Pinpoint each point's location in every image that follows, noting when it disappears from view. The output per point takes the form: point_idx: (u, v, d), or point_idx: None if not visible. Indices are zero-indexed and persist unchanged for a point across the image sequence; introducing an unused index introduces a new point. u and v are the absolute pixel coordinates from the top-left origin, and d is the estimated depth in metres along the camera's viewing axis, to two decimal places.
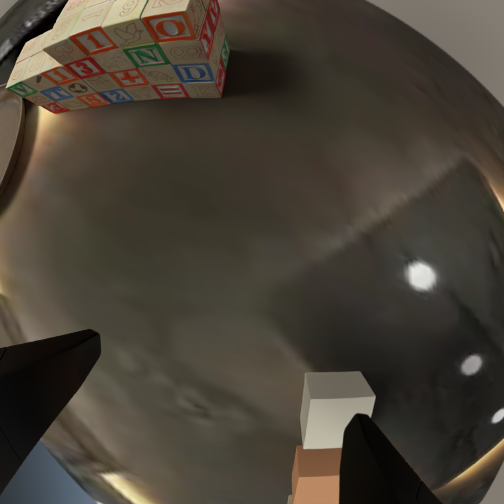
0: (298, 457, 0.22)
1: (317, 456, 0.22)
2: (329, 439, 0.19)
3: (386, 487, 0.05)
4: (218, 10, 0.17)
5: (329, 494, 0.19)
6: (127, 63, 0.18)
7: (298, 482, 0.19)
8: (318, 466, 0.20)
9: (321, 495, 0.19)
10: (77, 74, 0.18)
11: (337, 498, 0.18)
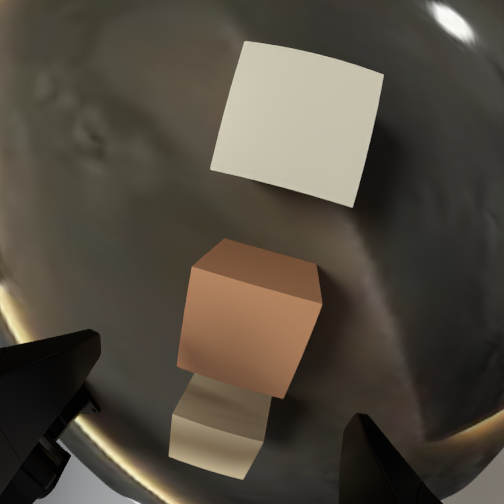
0: (215, 248, 0.14)
1: (253, 257, 0.13)
2: (273, 154, 0.09)
3: (386, 487, 0.05)
4: None
5: (255, 353, 0.11)
6: None
7: (190, 286, 0.11)
8: (246, 268, 0.12)
9: (237, 350, 0.11)
10: None
11: (272, 374, 0.11)
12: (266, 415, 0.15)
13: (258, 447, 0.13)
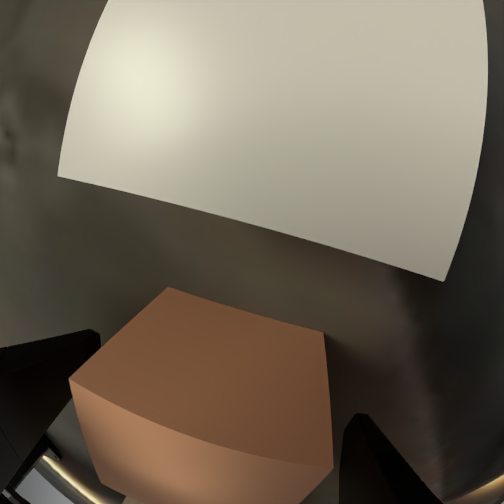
0: (140, 316, 0.07)
1: (206, 336, 0.07)
2: (204, 115, 0.03)
3: (386, 487, 0.05)
4: None
5: None
6: None
7: (78, 406, 0.04)
8: (183, 375, 0.05)
9: (178, 495, 0.05)
10: None
11: None
12: None
13: None
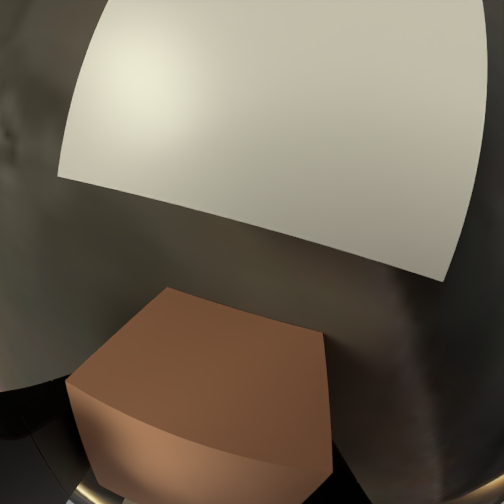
0: (138, 317, 0.07)
1: (204, 338, 0.07)
2: (204, 115, 0.03)
3: None
4: None
5: None
6: None
7: (75, 408, 0.04)
8: (180, 377, 0.05)
9: (176, 498, 0.05)
10: None
11: None
12: None
13: None
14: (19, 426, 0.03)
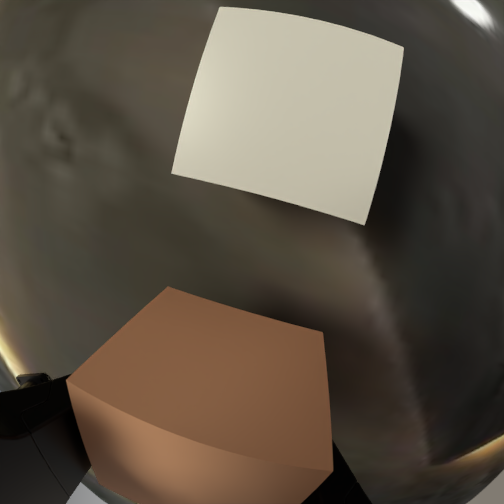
0: (138, 317, 0.07)
1: (204, 337, 0.07)
2: (254, 151, 0.07)
3: None
4: None
5: None
6: None
7: (76, 407, 0.04)
8: (181, 377, 0.05)
9: (177, 497, 0.05)
10: None
11: None
12: None
13: None
14: (19, 426, 0.03)
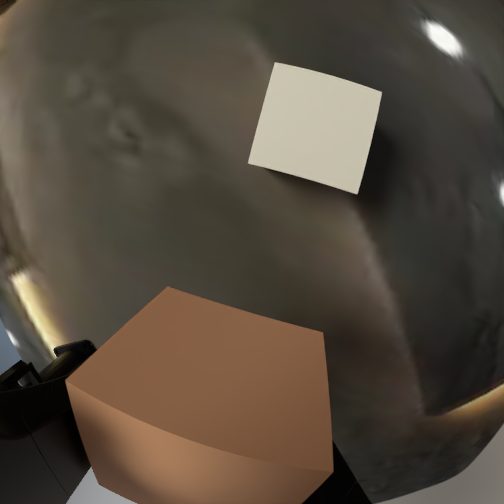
0: (138, 317, 0.07)
1: (204, 337, 0.07)
2: (297, 152, 0.12)
3: None
4: None
5: None
6: None
7: (75, 408, 0.04)
8: (181, 377, 0.05)
9: (177, 498, 0.05)
10: None
11: None
12: None
13: None
14: (19, 426, 0.03)
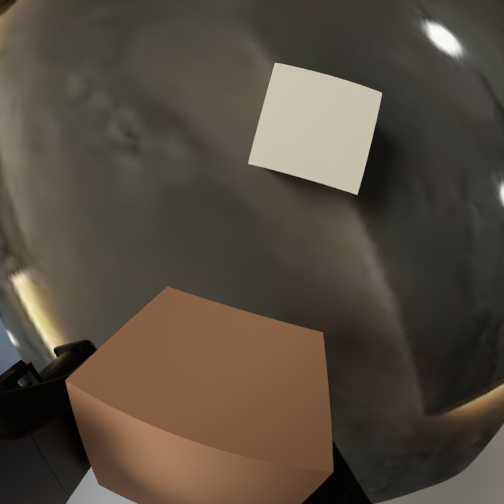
0: (138, 317, 0.07)
1: (204, 337, 0.07)
2: (297, 153, 0.12)
3: None
4: None
5: None
6: None
7: (75, 407, 0.04)
8: (181, 377, 0.05)
9: (177, 498, 0.05)
10: None
11: None
12: None
13: None
14: (19, 426, 0.03)
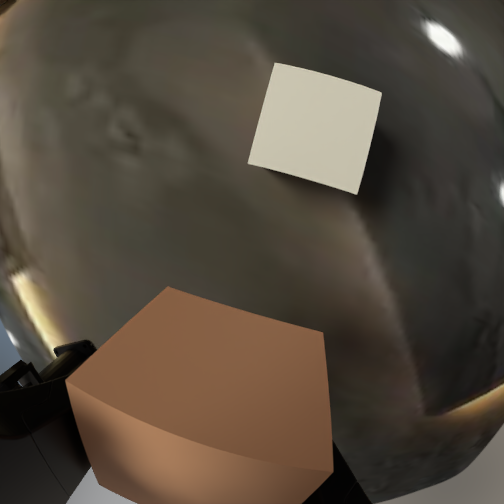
0: (138, 317, 0.07)
1: (204, 337, 0.07)
2: (297, 153, 0.12)
3: None
4: None
5: None
6: None
7: (75, 407, 0.04)
8: (181, 377, 0.05)
9: (177, 498, 0.05)
10: None
11: None
12: None
13: None
14: (19, 426, 0.03)
